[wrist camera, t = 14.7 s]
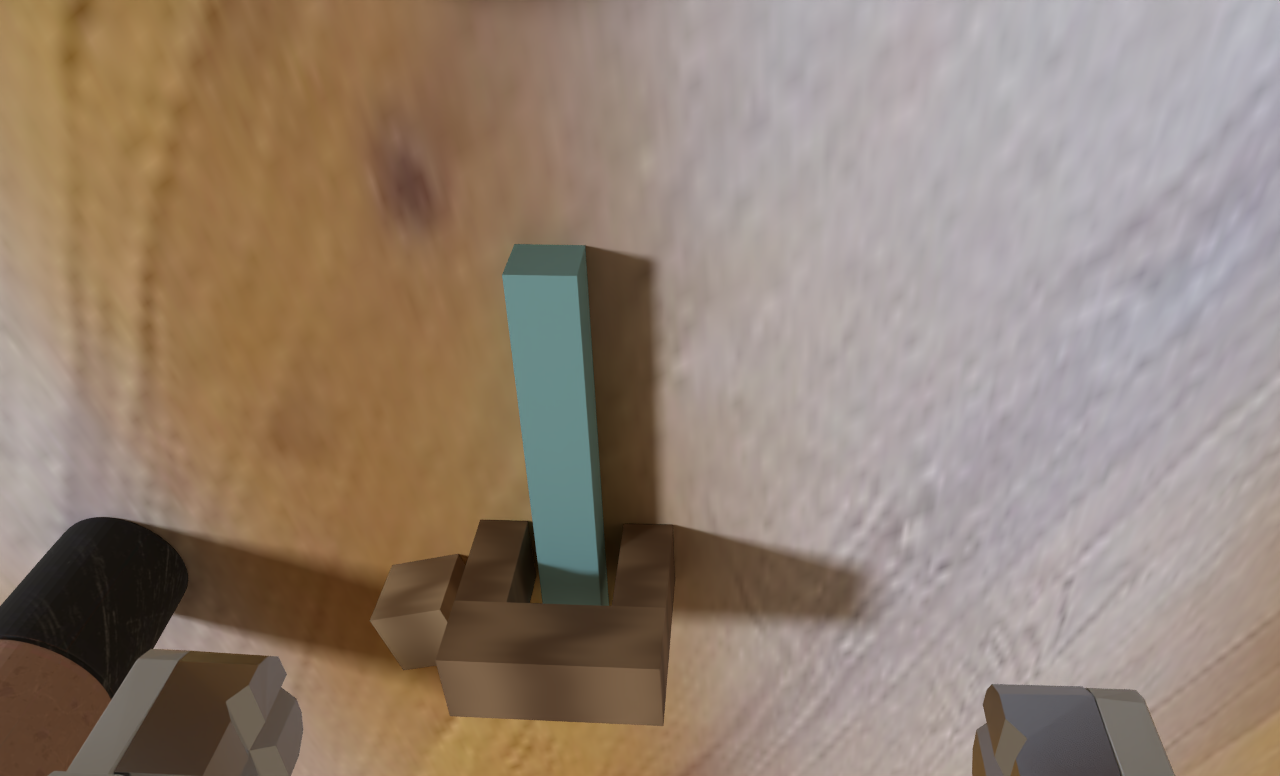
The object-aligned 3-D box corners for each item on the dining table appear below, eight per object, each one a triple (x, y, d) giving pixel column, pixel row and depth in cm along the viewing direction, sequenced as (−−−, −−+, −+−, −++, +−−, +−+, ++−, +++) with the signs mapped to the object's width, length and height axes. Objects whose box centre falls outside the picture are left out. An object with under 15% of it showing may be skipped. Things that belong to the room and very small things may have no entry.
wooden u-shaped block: (672, 524, 49) (659, 669, 42) (675, 580, 52) (663, 725, 44) (480, 519, 50) (435, 660, 43) (490, 574, 53) (450, 716, 46)
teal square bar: (586, 241, 41) (577, 276, 39) (609, 600, 54) (603, 643, 51) (515, 240, 41) (502, 274, 39) (555, 598, 54) (547, 640, 52)
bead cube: (458, 552, 52) (439, 609, 49) (487, 602, 54) (471, 660, 51) (392, 564, 53) (369, 620, 50) (423, 612, 55) (403, 670, 52)
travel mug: (127, 496, 52) (-154, 863, 36) (221, 589, 56) (6, 960, 39) (28, 535, 54) (-276, 894, 38) (125, 621, 58) (-115, 982, 42)
